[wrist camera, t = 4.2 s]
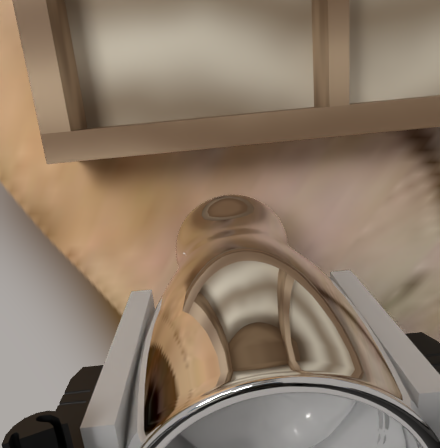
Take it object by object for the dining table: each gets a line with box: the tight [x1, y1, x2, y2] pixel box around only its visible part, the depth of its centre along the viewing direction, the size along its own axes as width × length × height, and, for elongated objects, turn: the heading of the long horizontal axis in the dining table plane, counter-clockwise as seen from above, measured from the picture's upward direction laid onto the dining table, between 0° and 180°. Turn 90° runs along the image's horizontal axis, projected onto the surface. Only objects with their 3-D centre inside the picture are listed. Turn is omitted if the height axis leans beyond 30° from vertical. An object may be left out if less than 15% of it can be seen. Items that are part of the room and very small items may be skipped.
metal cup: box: [126, 195, 440, 448], centre depth 15 cm, size 7×7×15 cm
